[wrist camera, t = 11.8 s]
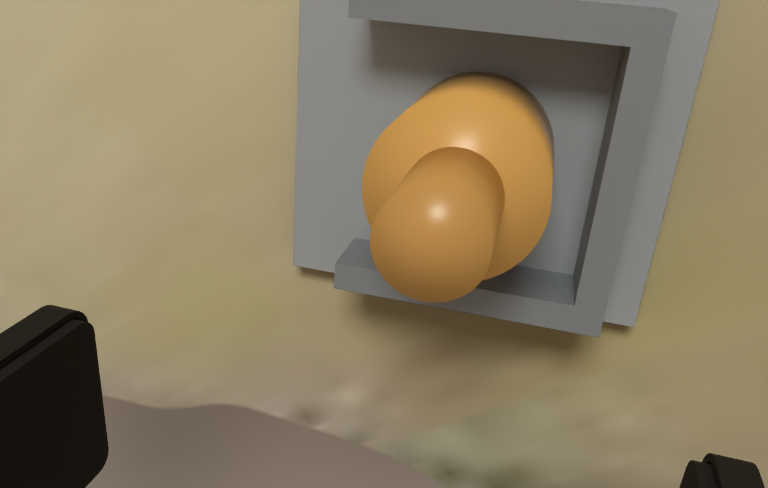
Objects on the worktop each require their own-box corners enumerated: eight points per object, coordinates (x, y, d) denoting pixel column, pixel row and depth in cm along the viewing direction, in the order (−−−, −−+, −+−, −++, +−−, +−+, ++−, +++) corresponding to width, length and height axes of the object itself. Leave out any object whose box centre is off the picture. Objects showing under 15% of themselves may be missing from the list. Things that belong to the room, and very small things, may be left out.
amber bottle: (567, 81, 26) (570, 150, 16) (539, 230, 29) (527, 368, 19) (409, 63, 27) (323, 117, 18) (396, 207, 30) (314, 325, 20)
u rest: (716, -12, 25) (743, -8, 21) (631, 316, 30) (641, 363, 27) (309, -47, 28) (272, -49, 24) (300, 257, 33) (268, 292, 30)
